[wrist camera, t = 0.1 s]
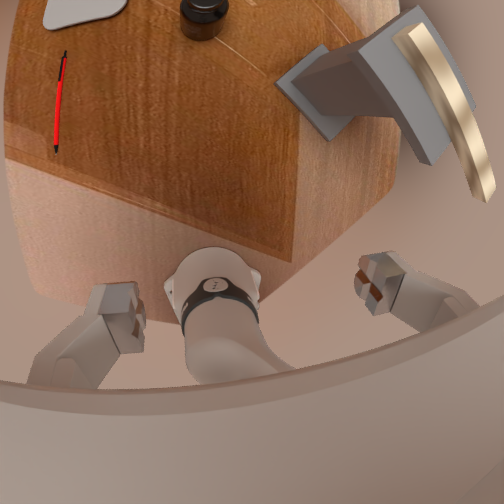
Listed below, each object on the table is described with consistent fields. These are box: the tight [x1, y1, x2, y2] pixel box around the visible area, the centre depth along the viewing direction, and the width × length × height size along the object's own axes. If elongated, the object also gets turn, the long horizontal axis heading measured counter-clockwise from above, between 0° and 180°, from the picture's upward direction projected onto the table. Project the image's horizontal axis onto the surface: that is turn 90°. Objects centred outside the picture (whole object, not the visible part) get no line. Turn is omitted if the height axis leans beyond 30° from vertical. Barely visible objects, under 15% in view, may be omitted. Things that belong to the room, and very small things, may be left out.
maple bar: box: [391, 23, 496, 203], centre depth 21 cm, size 22×3×2 cm, turn 46°
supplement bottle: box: [180, 0, 229, 40], centre depth 28 cm, size 7×7×12 cm
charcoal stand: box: [274, 5, 476, 166], centre depth 31 cm, size 14×12×26 cm
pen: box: [54, 51, 67, 154], centre depth 33 cm, size 1×19×1 cm, turn 174°
